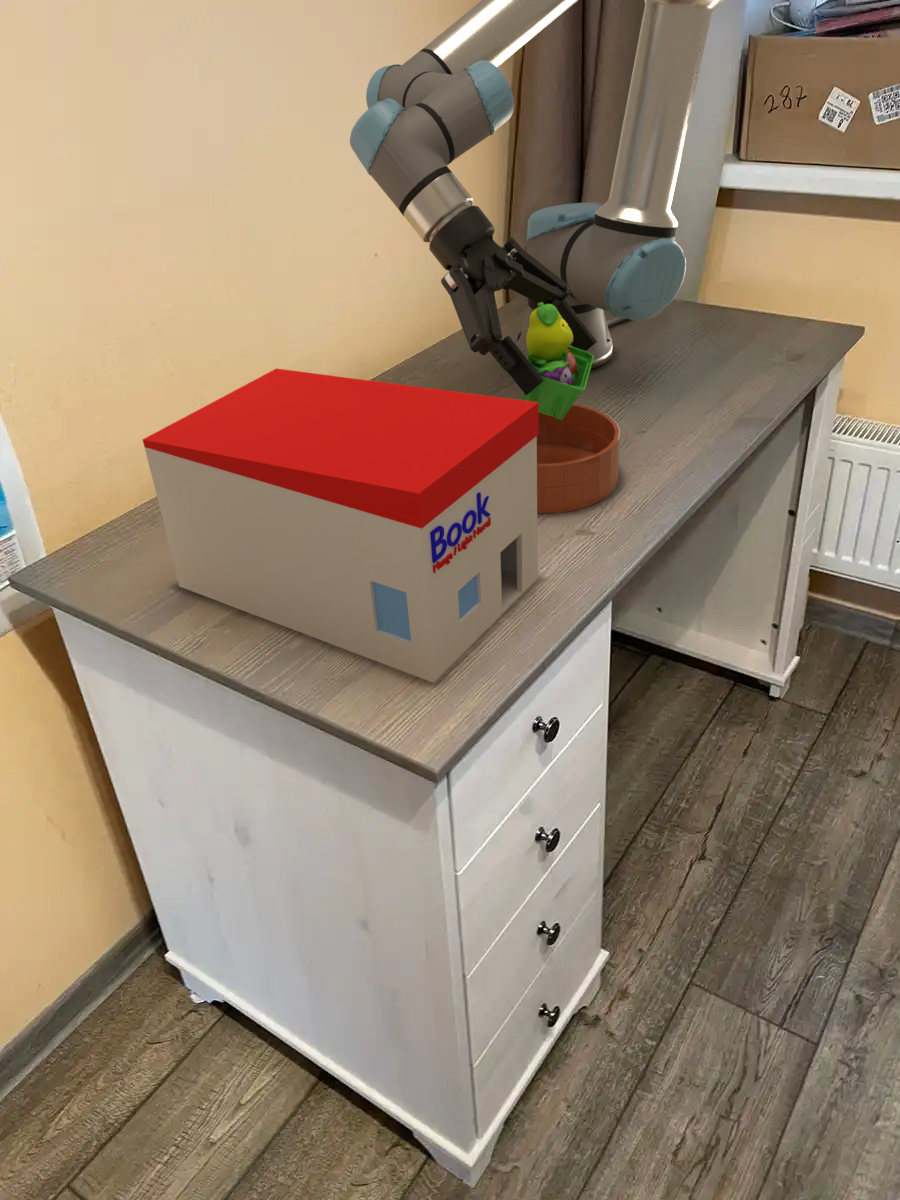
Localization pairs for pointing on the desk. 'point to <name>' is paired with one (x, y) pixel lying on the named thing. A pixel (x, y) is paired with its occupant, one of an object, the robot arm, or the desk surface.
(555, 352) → the fruit basket
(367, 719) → the desk surface
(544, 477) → the pot
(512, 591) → the bookstore
